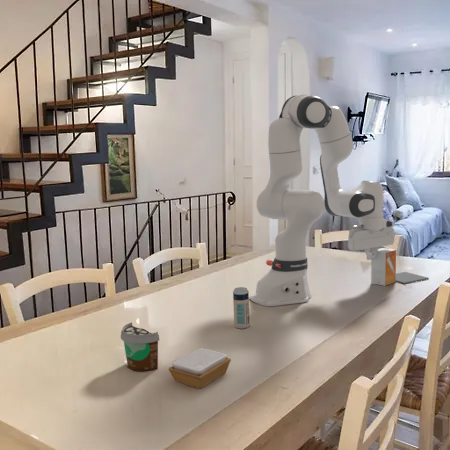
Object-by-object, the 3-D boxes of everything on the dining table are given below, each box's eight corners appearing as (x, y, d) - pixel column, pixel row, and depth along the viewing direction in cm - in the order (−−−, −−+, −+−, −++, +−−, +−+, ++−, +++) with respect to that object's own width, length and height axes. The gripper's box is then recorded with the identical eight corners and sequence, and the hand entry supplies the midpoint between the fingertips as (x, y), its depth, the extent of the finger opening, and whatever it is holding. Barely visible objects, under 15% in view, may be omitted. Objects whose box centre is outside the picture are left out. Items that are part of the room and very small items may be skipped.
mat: (404, 284, 199) (404, 282, 199) (381, 277, 209) (381, 276, 209) (428, 279, 204) (428, 277, 204) (405, 273, 215) (405, 271, 215)
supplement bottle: (246, 323, 161) (244, 286, 160) (252, 328, 157) (251, 289, 155) (231, 325, 160) (230, 288, 158) (237, 330, 155) (236, 291, 154)
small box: (385, 286, 197) (385, 252, 195) (370, 283, 201) (370, 250, 200) (396, 282, 202) (396, 249, 200) (381, 279, 207) (381, 247, 205)
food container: (113, 365, 134) (110, 328, 132) (133, 357, 138) (130, 321, 136) (141, 378, 125) (138, 339, 123) (161, 370, 129) (159, 332, 128)
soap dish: (200, 393, 117) (199, 372, 116) (168, 383, 123) (167, 362, 122) (231, 372, 127) (231, 353, 126) (200, 364, 133) (199, 345, 132)
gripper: (355, 227, 188) (355, 264, 190) (397, 221, 197) (397, 257, 199) (344, 225, 194) (344, 261, 196) (385, 219, 202) (385, 254, 205)
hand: (371, 259), depth 197 cm, fingers closed
